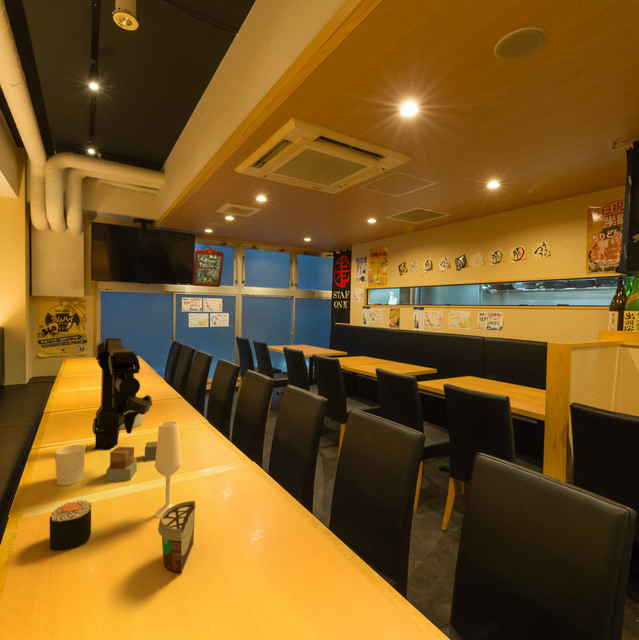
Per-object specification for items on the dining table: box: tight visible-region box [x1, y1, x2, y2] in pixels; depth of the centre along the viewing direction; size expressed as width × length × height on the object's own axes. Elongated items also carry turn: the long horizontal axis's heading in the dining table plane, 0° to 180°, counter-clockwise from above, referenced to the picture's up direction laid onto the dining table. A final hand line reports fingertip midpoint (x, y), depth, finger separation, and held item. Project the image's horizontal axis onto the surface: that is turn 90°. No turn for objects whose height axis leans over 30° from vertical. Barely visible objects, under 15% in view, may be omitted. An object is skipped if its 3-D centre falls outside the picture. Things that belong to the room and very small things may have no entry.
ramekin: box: [119, 414, 145, 430], centre depth 170 cm, size 13×13×7 cm
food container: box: [157, 500, 196, 575], centre depth 81 cm, size 12×6×10 cm, turn 5°
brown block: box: [144, 441, 157, 462], centre depth 135 cm, size 5×5×5 cm
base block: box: [105, 459, 138, 483], centre depth 120 cm, size 7×7×4 cm
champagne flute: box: [154, 420, 183, 519], centre depth 100 cm, size 7×7×24 cm
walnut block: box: [109, 446, 135, 469], centre depth 120 cm, size 5×5×5 cm
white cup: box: [54, 444, 86, 486], centre depth 116 cm, size 8×8×10 cm
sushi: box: [49, 499, 93, 552], centre depth 87 cm, size 8×8×8 cm
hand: (122, 438), depth 120 cm, fingers open, 9 cm apart
